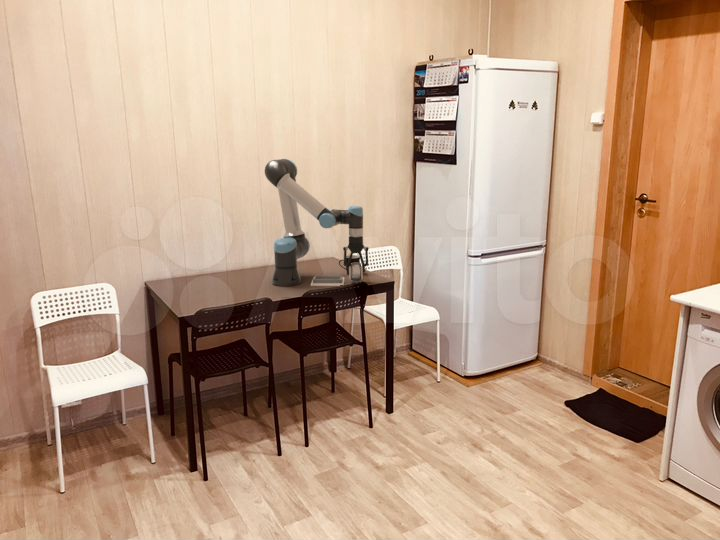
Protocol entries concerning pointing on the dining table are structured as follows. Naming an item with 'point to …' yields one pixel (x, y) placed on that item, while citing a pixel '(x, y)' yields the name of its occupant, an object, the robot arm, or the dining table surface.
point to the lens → (355, 272)
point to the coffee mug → (354, 259)
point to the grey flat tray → (327, 281)
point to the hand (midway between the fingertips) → (355, 278)
